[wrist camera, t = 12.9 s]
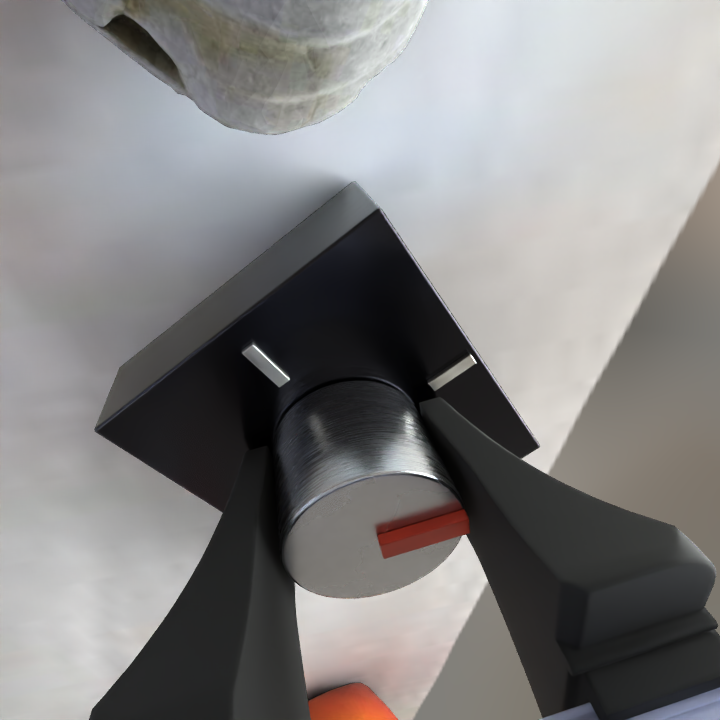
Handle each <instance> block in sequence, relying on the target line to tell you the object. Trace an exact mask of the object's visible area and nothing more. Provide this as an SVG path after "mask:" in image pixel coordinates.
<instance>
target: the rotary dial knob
mask: <svg viewBox="0 0 720 720" xmlns="http://www.w3.org/2000/svg"><path fill="white" fill-rule="evenodd" d="M273 463H274V477H275V490H276V503H277V517H278V530H279V543H280V555H281V561H282V564H283V566H284V568H285V570H286V572H287V573H288V575H289V576H290V577H291V578H292V580H293V581H294V582H296V583H297V584H298V585H299V586H301V587H302V588H304V589H306V590H308V591H310V592H313V593H315V594H318V595H322V596H326V597H333V598H345V599H350V598H364V597H371V596H376V595H381V594H384V593H388V592H391V591H394V590H397V589H400V588H402V587H404V586H407V585H409V584H411V583H413V582H415V581H417V580H419V579H421V578H422V577H424V576H425V575H427V574H429V573H430V572H431V571H433V570H434V569H435V568H437V567H438V566H439V565H440V564H441V563H442V562H443V561H444V560H445V559H446V558H447V557H448V556H449V555H450V554H451V553H452V551H453V550H454V548H455V547H456V546H457V544H458V542H459V540H460V538H461V536H462V535H465V534H469V533H470V525H469V517H468V515H467V513H466V511H465V508H464V504H463V501H462V499H461V497H460V495H459V493H458V491H457V489H456V487H455V485H454V483H453V481H452V479H451V477H450V475H449V473H448V471H447V469H446V467H445V465H444V463H443V461H442V459H441V457H440V455H439V453H438V451H437V449H436V447H435V445H434V443H433V441H432V439H431V437H430V435H429V433H428V431H427V429H426V427H425V425H424V423H423V421H422V419H421V417H420V415H419V413H418V411H417V409H416V407H415V406H414V404H413V403H412V402H411V401H410V400H409V399H408V397H406V396H405V395H404V394H403V393H401V392H400V391H398V390H396V389H394V388H392V387H390V386H388V385H385V384H382V383H378V382H373V381H364V380H354V381H345V382H340V383H335V384H331V385H328V386H325V387H323V388H320V389H318V390H316V391H314V392H312V393H310V394H309V395H307V396H305V397H304V398H302V399H301V400H300V401H299V402H297V403H296V404H295V405H294V406H293V407H292V408H291V409H290V410H289V411H288V412H287V413H286V415H285V416H284V417H283V419H282V421H281V422H280V424H279V426H278V428H277V430H276V433H275V436H274V440H273Z"/></svg>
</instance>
